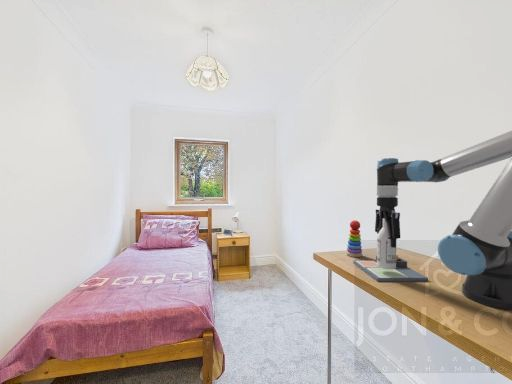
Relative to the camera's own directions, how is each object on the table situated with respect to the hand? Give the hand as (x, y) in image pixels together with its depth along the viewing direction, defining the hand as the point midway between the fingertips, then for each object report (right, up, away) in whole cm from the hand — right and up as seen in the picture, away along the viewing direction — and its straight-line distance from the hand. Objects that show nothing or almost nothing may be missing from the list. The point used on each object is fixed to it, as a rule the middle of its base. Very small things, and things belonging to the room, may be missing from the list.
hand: (386, 252), depth 98 cm
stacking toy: (-1, -9, +29) cm, 31 cm away
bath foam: (0, -6, 0) cm, 6 cm away
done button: (+8, -6, +11) cm, 15 cm away
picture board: (+3, -9, +5) cm, 11 cm away
